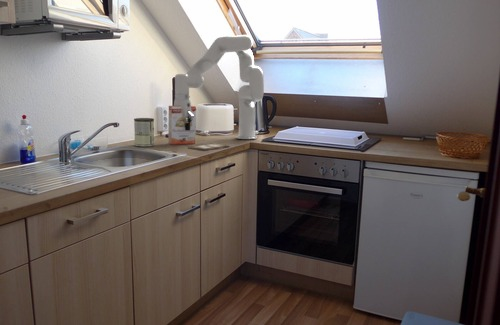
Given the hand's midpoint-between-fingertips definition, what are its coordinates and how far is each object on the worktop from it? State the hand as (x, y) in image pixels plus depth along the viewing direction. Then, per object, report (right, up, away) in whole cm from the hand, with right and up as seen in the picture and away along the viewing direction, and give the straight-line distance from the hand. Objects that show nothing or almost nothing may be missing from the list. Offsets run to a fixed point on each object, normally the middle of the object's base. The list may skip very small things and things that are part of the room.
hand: (182, 129), depth 246 cm
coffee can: (-19, -9, -7) cm, 22 cm away
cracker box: (0, -8, +1) cm, 8 cm away
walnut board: (+16, -10, -10) cm, 22 cm away
